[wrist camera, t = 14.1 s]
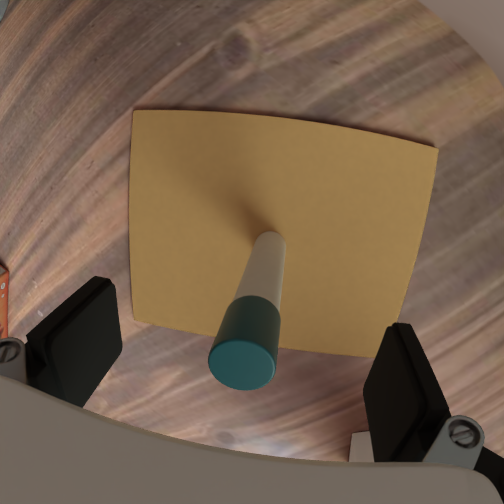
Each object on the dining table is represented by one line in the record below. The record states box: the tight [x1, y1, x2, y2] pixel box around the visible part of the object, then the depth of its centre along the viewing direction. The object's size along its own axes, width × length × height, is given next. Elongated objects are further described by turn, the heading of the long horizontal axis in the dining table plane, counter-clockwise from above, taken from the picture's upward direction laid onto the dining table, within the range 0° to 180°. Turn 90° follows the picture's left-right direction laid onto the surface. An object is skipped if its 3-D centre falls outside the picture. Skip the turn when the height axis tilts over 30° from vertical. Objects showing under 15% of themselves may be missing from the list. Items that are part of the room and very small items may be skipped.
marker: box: [208, 231, 286, 390], centre depth 16 cm, size 2×2×12 cm
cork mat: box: [129, 110, 439, 358], centre depth 21 cm, size 16×20×1 cm
